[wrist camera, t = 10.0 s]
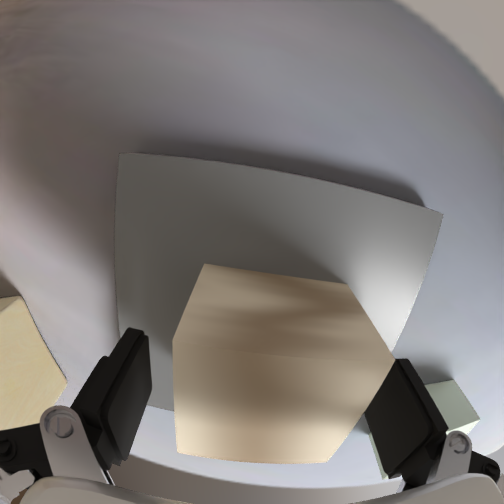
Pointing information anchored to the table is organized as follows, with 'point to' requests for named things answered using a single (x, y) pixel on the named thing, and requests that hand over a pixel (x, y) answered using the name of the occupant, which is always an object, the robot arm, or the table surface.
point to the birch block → (272, 367)
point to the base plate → (256, 242)
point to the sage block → (446, 411)
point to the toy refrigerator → (24, 368)
